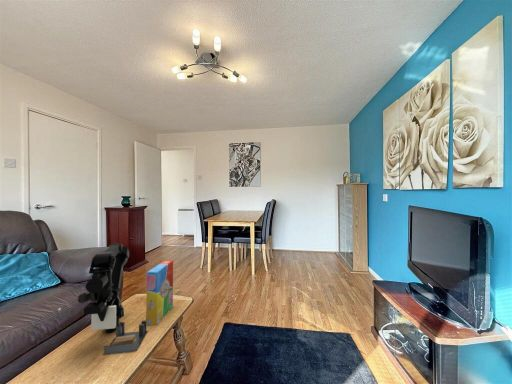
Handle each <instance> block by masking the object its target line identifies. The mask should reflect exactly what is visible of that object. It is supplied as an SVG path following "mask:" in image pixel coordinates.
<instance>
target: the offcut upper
mask: <svg viewBox="0 0 512 384" xmlns="http://www.w3.org/2000/svg"><path fill="white" fill-rule="evenodd" d="M115 337H116V336H115ZM114 339H115V338H114ZM114 339H113V340H114ZM134 340H135V335H129V336H121V337H116V339H115V340H114V342H113V345H121V344H132V343H133V342H134Z"/></svg>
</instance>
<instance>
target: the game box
mask: <svg viewBox="0 0 512 384" xmlns="http://www.w3.org/2000/svg"><path fill="white" fill-rule="evenodd" d="M173 297H174V260H168V259H167V260H163V261H162V262H160V263H159V264H157V265H156V266H154V267H153V268H151V269H150V270H148V271H147V272H146V302H145V303H146V304H145V305H146V308H145V309H146V311H145V312H146V314H145V319H146V320H147V327H157V326H158V325H159V324H160V323H161V321H163V318H164V317H165V316H166V315H167V314H168V313H169V312H170V311H171V310H172V309H173V307H174V306H173V305H174V304H173V303H174V302H173V301H174V298H173Z"/></svg>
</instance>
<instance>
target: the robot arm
mask: <svg viewBox="0 0 512 384" xmlns="http://www.w3.org/2000/svg"><path fill="white" fill-rule="evenodd" d="M129 257H130V250H129V248H128V247H127V246H124V244H123V243H121V242H120V243H117V242H116V243H112V244H110V245H109V247H108V248H106V249H105V251H103V252H99V253H96V254H95V255H94V256H93V257H92V259H91V263H90V265H89V266H90V267H89V269H88V274H90V275H91V274H92V275H91V278H90V279H89V280H88V281H86V284H85V289H86V291H85V292H83V293H81V294H79V295H78V297H77V302H78V303H79V304H82V305H84V304H85V303H86V302H89V301H90V302H89V303H88V304H87V305H86V306H84V308H83V309H82V315H84V316H85V315H92V314H98V316H99V319H100V321H104V319H105V316H106V313H107V310H108V307H109V306H115V305H116V327H117V326H119V323H120V319H122V318H123V317H125V309H124V307H123V304H122V301H121V299H120V294H121V283H122V277H123V270H124V266H125V265H126V264H127V263H128V259H129ZM116 327H115V328H112V329H104V331H105V334H113V333H114V332H116Z"/></svg>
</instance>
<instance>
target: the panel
mask: <svg viewBox="0 0 512 384" xmlns="http://www.w3.org/2000/svg"><path fill="white" fill-rule="evenodd" d="M90 322H91V323H90V325H91V327H90V328H91V331H98V330H99V331H100V330H105V329H112V328H115V327H116V305H115V306H109V307H108V310H107V313H106V316H105V319H104V321H100V319H99V316H98V314H91V321H90Z"/></svg>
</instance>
